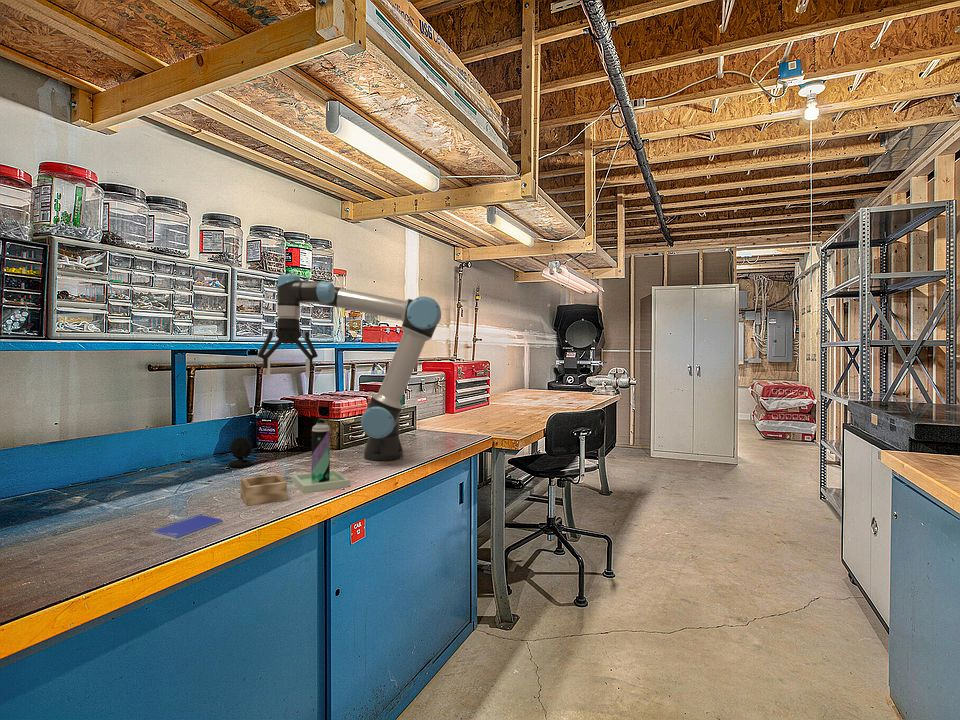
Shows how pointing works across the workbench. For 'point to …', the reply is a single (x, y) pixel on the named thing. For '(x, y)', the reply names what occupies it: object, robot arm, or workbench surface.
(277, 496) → the wooden storage crate
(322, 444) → the spray can
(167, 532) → the hard drive
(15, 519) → the workbench surface
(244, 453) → the webcam
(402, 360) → the robot arm
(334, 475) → the tray
